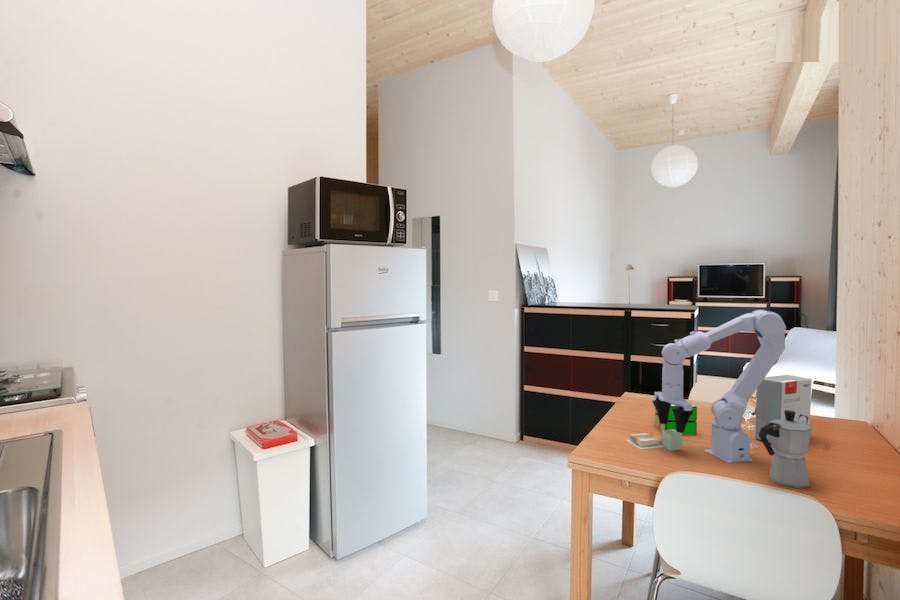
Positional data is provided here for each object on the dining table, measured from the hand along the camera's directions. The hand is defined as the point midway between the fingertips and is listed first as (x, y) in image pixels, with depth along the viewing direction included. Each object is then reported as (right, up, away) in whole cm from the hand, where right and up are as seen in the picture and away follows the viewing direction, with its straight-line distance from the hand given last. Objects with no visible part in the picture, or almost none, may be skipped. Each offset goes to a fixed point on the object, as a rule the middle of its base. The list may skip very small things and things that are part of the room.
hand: (671, 427), depth 135 cm
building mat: (-4, -7, +4) cm, 9 cm away
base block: (-7, -6, +4) cm, 10 cm away
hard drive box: (+39, -6, +8) cm, 41 cm away
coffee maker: (+18, -8, -21) cm, 29 cm away
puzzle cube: (+9, -6, +17) cm, 20 cm away
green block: (0, -6, 0) cm, 6 cm away
